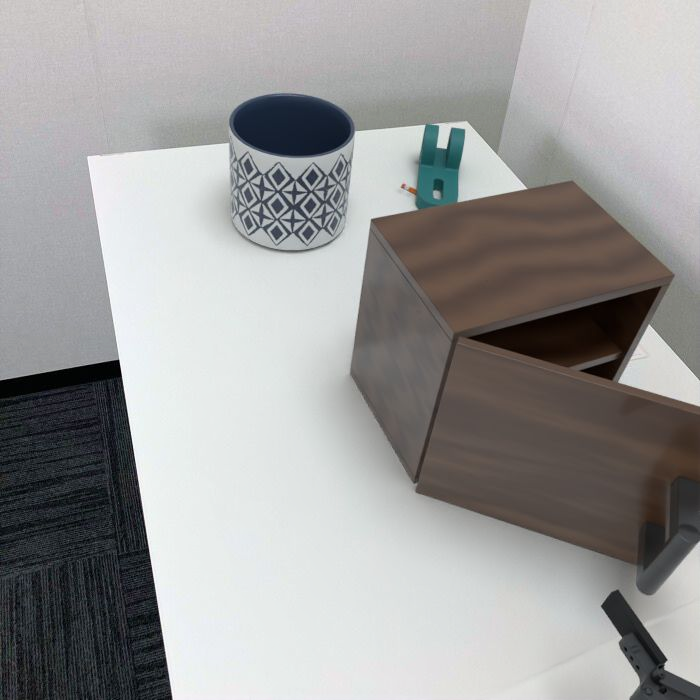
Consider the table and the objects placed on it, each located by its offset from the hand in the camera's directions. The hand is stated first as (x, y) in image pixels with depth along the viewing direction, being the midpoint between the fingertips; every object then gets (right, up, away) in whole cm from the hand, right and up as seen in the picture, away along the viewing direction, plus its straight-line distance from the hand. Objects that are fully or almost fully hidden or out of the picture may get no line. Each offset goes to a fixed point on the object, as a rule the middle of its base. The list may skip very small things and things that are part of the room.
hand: (668, 571), depth 67 cm
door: (-10, -2, +12) cm, 16 cm away
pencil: (-13, +44, +56) cm, 73 cm away
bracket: (-14, +48, +61) cm, 79 cm away
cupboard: (-13, +14, +27) cm, 33 cm away
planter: (-39, +41, +50) cm, 76 cm away
